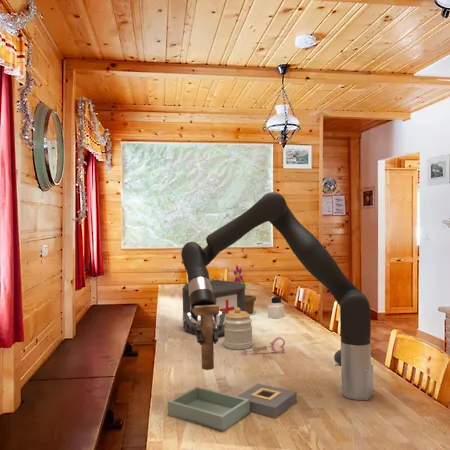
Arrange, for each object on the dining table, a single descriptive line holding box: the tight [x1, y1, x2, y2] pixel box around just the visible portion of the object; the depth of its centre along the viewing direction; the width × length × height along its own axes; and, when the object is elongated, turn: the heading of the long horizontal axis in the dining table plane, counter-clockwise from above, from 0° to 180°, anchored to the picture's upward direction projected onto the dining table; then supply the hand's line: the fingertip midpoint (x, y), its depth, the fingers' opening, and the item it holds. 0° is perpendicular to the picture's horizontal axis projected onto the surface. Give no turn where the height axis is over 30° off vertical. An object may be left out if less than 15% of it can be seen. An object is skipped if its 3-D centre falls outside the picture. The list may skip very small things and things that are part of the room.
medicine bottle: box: [267, 296, 285, 320], centre depth 264 cm, size 7×7×12 cm
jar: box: [223, 307, 254, 351], centre depth 205 cm, size 13×13×18 cm
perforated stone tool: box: [333, 349, 341, 365], centre depth 177 cm, size 15×5×7 cm, turn 102°
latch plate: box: [236, 383, 298, 419], centre depth 139 cm, size 14×14×3 cm
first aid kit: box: [182, 279, 246, 337], centre depth 234 cm, size 25×25×25 cm
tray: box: [167, 386, 251, 433], centre depth 133 cm, size 20×14×4 cm
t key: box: [194, 305, 219, 371], centre depth 133 cm, size 7×4×18 cm, turn 102°
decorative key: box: [239, 336, 286, 356], centre depth 193 cm, size 7×1×20 cm
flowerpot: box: [233, 264, 257, 316], centre depth 276 cm, size 14×14×30 cm
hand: (208, 342), depth 131 cm, fingers closed on t key, 3 cm apart
